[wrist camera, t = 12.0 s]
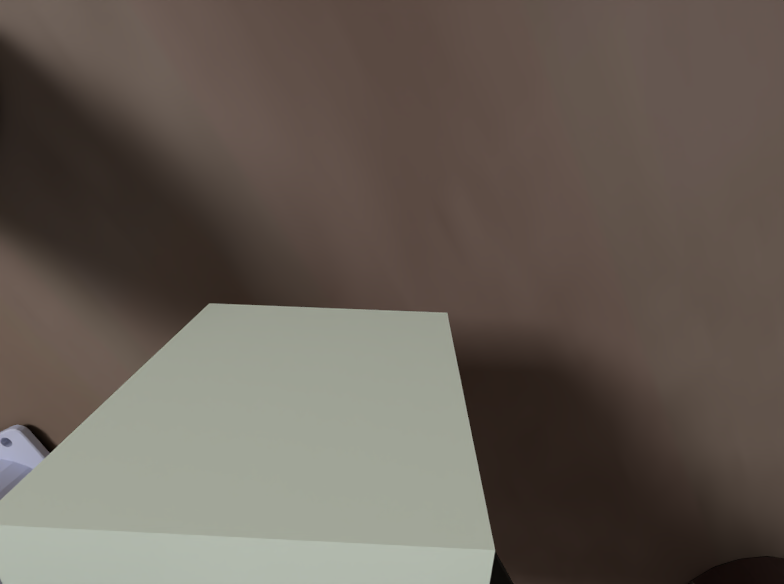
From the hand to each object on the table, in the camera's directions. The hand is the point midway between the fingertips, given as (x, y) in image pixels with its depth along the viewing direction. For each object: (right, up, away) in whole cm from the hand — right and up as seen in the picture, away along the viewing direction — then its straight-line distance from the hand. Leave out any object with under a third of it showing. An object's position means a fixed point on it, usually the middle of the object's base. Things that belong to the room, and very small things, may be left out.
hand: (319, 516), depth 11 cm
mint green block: (0, 0, +2) cm, 2 cm away
